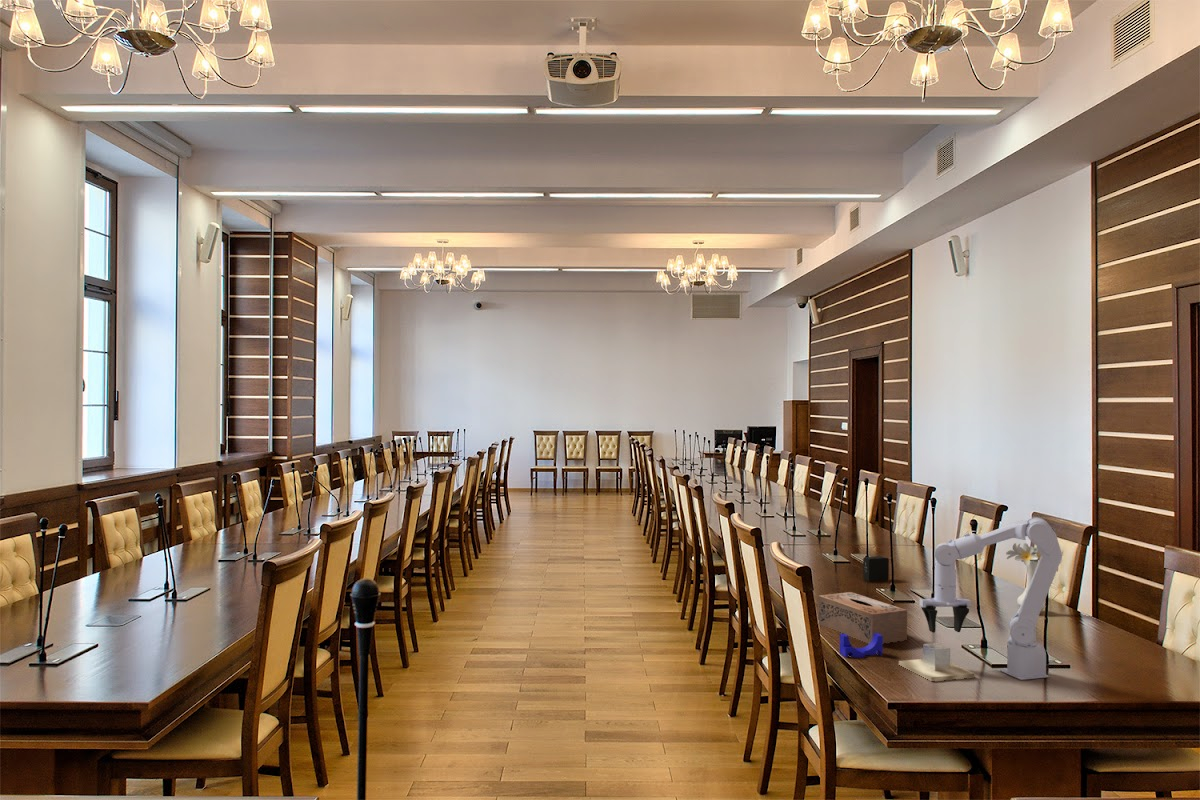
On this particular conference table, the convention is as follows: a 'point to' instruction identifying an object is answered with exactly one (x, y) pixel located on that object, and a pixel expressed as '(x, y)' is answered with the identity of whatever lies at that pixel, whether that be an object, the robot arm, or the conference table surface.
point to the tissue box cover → (862, 617)
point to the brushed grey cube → (936, 656)
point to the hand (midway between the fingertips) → (944, 631)
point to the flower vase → (1026, 564)
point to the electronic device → (875, 568)
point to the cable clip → (870, 649)
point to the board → (933, 675)
